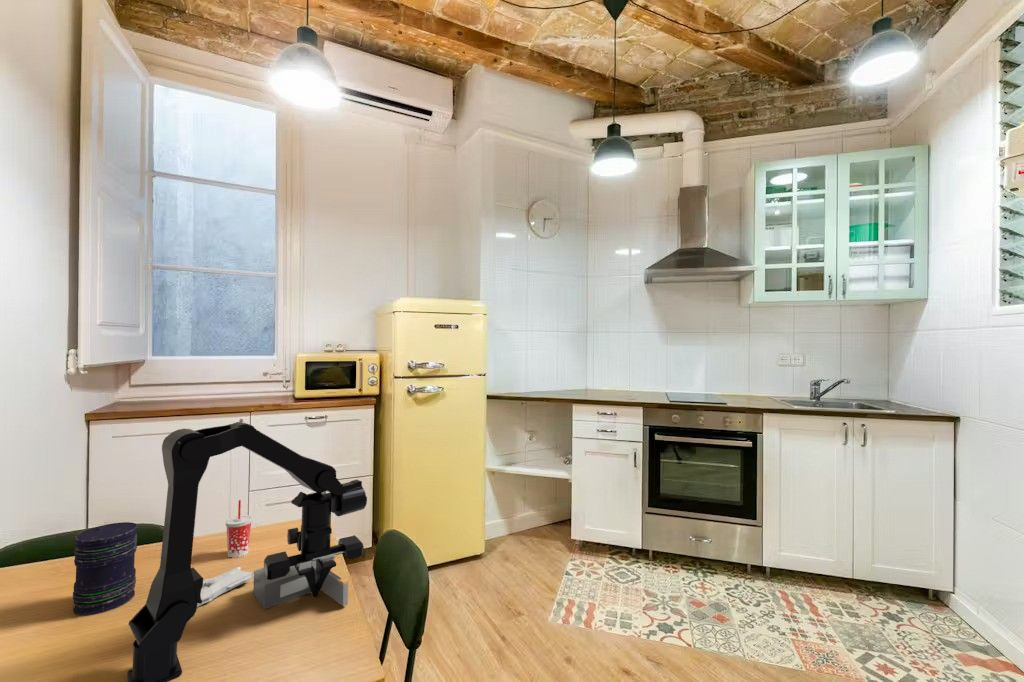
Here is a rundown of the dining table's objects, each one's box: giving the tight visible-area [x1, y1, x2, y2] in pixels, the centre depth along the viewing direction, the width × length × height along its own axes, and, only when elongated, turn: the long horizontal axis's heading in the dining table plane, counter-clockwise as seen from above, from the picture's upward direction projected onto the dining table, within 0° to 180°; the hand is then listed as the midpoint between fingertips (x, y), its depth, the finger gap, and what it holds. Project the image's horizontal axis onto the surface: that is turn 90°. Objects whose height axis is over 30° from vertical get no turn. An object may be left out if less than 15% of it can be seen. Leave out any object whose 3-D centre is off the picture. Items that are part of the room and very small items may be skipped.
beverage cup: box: [224, 499, 254, 558], centre depth 116 cm, size 6×6×14 cm
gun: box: [197, 566, 254, 608], centre depth 96 cm, size 18×4×10 cm
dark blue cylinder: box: [72, 521, 138, 617], centre depth 93 cm, size 10×10×15 cm
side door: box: [320, 570, 349, 607], centre depth 96 cm, size 1×11×5 cm, turn 49°
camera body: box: [253, 560, 316, 610], centre depth 98 cm, size 8×12×6 cm
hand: (314, 596), depth 93 cm, fingers closed
